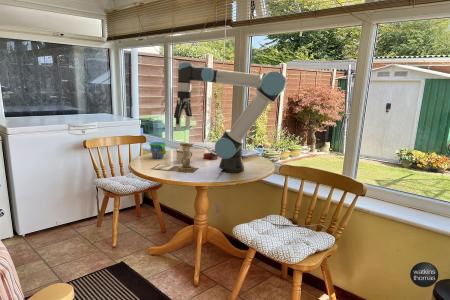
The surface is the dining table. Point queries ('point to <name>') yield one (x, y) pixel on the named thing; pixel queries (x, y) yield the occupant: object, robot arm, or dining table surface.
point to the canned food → (210, 155)
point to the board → (175, 168)
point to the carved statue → (186, 154)
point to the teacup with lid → (181, 155)
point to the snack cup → (158, 149)
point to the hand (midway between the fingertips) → (182, 128)
